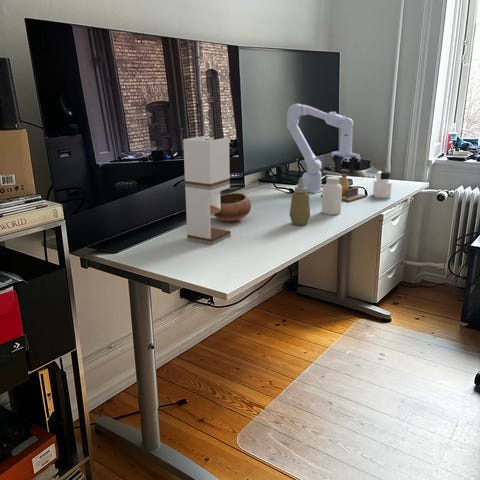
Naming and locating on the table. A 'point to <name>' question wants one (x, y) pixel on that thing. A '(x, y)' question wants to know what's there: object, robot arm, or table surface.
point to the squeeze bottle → (300, 205)
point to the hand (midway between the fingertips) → (344, 172)
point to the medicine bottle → (382, 185)
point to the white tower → (205, 186)
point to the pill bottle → (331, 196)
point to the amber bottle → (344, 184)
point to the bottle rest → (352, 195)
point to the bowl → (233, 207)
